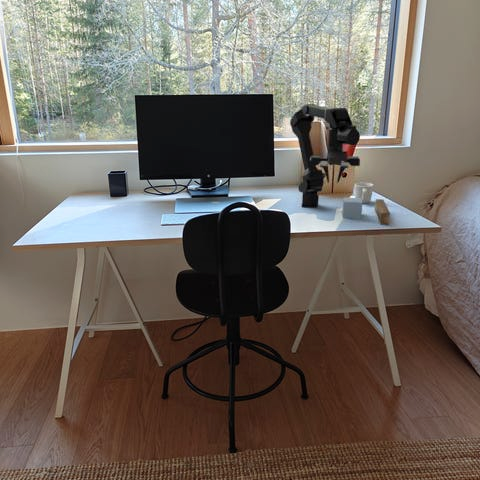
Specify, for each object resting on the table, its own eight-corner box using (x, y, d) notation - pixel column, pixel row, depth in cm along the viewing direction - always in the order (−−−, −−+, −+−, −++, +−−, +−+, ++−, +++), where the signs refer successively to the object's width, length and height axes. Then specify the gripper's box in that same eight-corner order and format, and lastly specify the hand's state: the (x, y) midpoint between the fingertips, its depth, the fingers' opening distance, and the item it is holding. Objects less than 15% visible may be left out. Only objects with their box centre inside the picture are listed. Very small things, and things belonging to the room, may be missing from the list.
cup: (373, 206, 182) (375, 188, 180) (354, 205, 184) (355, 187, 181) (371, 200, 192) (372, 182, 189) (353, 199, 194) (354, 182, 191)
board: (380, 224, 159) (381, 212, 158) (374, 209, 178) (375, 199, 176) (388, 224, 159) (390, 213, 157) (382, 209, 177) (383, 199, 176)
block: (342, 218, 168) (343, 202, 165) (342, 213, 174) (343, 197, 172) (361, 218, 166) (362, 202, 164) (359, 213, 173) (361, 198, 171)
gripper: (310, 144, 156) (308, 186, 161) (362, 145, 153) (358, 188, 158) (311, 141, 166) (309, 180, 172) (360, 141, 163) (357, 181, 168)
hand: (333, 182), depth 167 cm, fingers open, 3 cm apart
